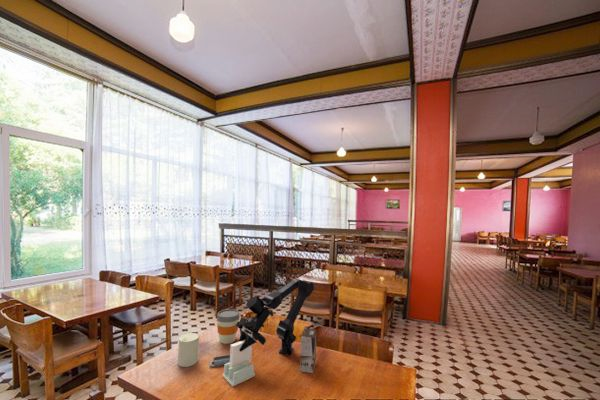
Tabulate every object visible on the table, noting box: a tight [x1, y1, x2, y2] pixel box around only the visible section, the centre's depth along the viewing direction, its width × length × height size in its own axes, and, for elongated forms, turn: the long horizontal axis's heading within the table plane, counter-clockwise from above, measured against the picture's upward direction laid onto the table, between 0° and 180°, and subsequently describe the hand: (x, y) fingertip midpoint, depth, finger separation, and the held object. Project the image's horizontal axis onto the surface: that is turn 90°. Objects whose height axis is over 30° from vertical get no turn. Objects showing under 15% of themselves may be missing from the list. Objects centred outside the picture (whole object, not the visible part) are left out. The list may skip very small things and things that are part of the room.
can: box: [176, 332, 200, 368], centre depth 127 cm, size 9×9×12 cm
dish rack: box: [222, 360, 256, 387], centre depth 117 cm, size 11×9×5 cm
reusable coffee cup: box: [216, 308, 241, 345], centre depth 149 cm, size 13×13×15 cm
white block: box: [229, 339, 253, 368], centre depth 120 cm, size 10×2×10 cm, turn 133°
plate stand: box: [208, 353, 230, 369], centre depth 126 cm, size 13×4×2 cm, turn 112°
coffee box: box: [299, 328, 317, 374], centre depth 125 cm, size 9×6×16 cm
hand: (238, 349), depth 119 cm, fingers closed on white block, 2 cm apart
